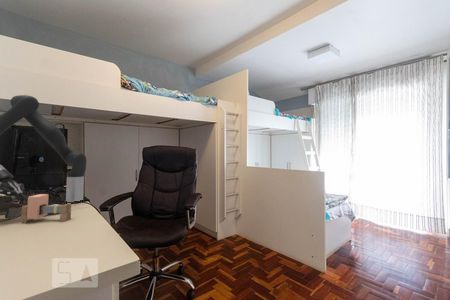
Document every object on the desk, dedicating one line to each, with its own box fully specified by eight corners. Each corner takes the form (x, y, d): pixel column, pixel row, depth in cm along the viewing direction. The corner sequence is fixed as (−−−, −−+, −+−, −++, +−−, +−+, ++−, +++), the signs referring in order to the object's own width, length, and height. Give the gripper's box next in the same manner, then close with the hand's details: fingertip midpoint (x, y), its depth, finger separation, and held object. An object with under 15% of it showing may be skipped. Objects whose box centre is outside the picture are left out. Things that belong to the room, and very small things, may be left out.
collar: (38, 215, 102) (39, 194, 102) (47, 214, 102) (48, 194, 103) (26, 219, 94) (27, 197, 95) (36, 219, 95) (37, 196, 96)
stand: (29, 219, 100) (30, 204, 100) (70, 218, 103) (71, 203, 103) (21, 223, 95) (21, 206, 95) (64, 221, 98) (65, 205, 98)
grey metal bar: (30, 212, 99) (31, 205, 100) (67, 211, 102) (68, 204, 102) (25, 214, 96) (25, 206, 96) (63, 213, 99) (63, 206, 99)
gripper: (-11, 169, 90) (19, 197, 92) (15, 167, 103) (41, 192, 105) (-26, 181, 89) (5, 209, 91) (2, 178, 102) (29, 203, 104)
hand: (24, 200), depth 98 cm, fingers closed
